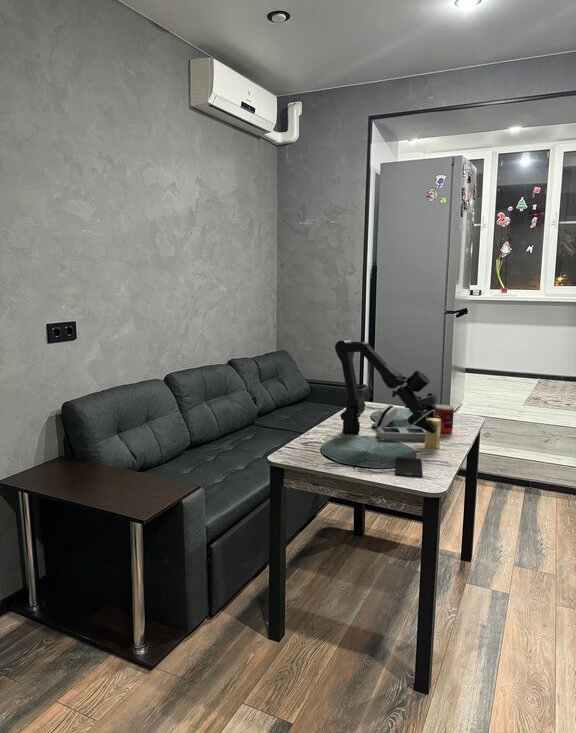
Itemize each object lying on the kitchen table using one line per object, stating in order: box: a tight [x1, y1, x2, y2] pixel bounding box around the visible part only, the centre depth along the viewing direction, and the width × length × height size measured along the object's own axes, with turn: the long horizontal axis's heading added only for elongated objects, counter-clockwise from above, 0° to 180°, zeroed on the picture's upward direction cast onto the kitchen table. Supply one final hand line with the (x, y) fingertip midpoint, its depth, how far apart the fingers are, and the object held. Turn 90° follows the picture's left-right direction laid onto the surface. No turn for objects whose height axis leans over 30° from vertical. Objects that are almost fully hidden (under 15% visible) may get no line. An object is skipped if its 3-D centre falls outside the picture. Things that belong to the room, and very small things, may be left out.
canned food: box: [435, 404, 455, 435], centre depth 229 cm, size 8×8×11 cm
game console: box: [370, 404, 398, 429], centre depth 239 cm, size 17×5×10 cm, turn 151°
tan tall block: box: [424, 417, 441, 450], centre depth 207 cm, size 5×5×11 cm
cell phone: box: [394, 456, 424, 478], centre depth 185 cm, size 9×18×1 cm, turn 168°
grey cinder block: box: [376, 426, 425, 442], centre depth 220 cm, size 20×9×3 cm, turn 89°
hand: (436, 430), depth 206 cm, fingers open, 7 cm apart
